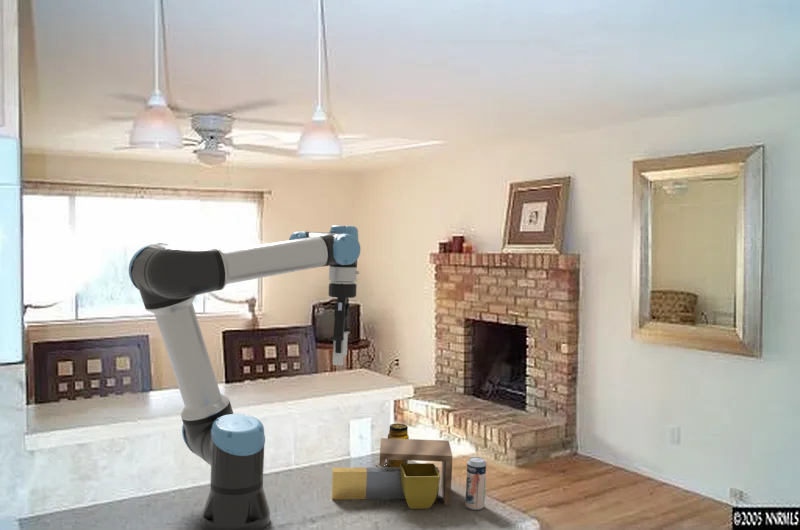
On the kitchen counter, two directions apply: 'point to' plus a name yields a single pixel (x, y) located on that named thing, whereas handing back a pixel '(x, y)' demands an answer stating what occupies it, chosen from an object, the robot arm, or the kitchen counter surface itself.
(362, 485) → the two-tone wooden bar
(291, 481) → the kitchen counter surface
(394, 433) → the condiment
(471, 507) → the beer can
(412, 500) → the flower pot
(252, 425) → the robot arm
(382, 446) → the small brown wooden table
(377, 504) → the kitchen counter surface
